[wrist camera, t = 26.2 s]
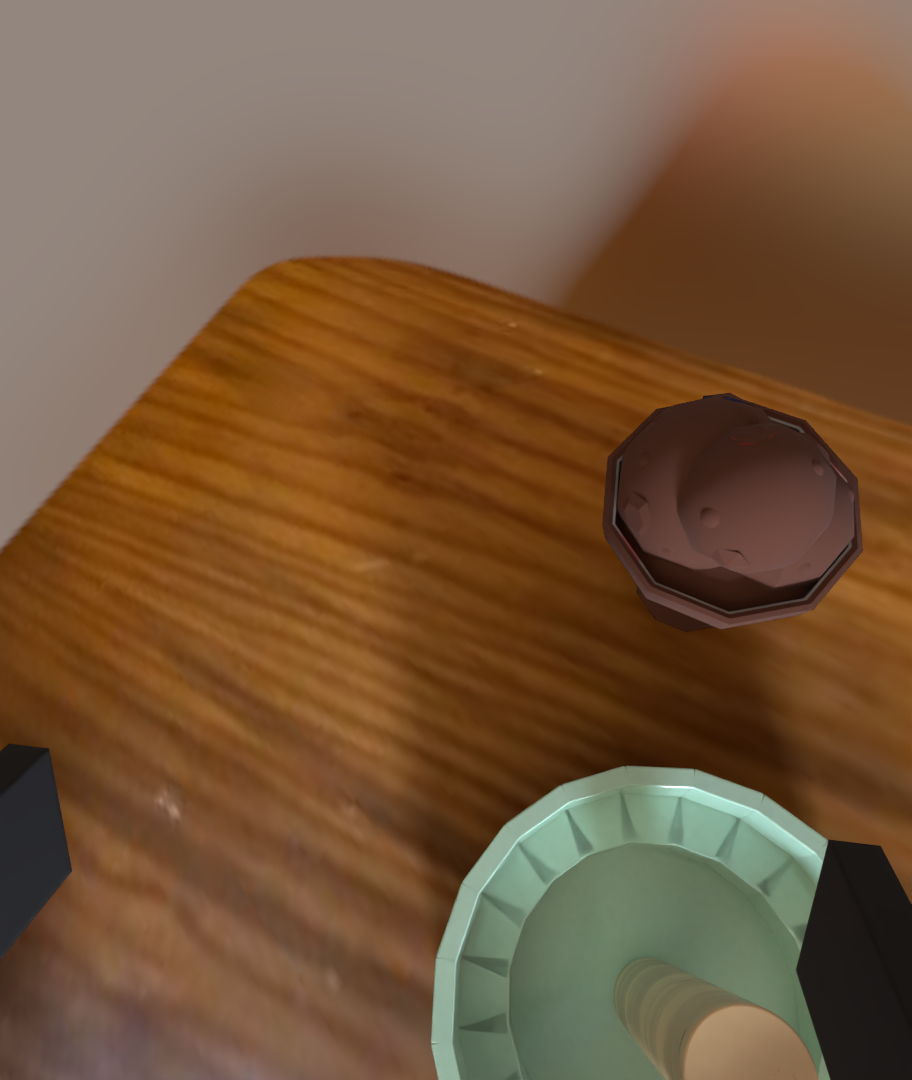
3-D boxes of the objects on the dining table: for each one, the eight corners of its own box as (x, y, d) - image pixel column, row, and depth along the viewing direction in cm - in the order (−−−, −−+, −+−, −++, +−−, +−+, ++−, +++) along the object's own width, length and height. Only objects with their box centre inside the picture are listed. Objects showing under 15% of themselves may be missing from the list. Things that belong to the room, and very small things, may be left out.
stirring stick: (598, 986, 33) (655, 1055, 19) (657, 941, 34) (755, 974, 19) (645, 1061, 32) (745, 1197, 17) (705, 1013, 32) (850, 1106, 18)
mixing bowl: (376, 928, 36) (347, 934, 30) (674, 716, 38) (701, 684, 33) (612, 1372, 29) (634, 1495, 23) (954, 1071, 32) (1052, 1111, 26)
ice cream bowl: (833, 574, 41) (985, 415, 27) (704, 726, 38) (803, 632, 25) (673, 460, 45) (737, 270, 31) (544, 591, 42) (554, 445, 28)
